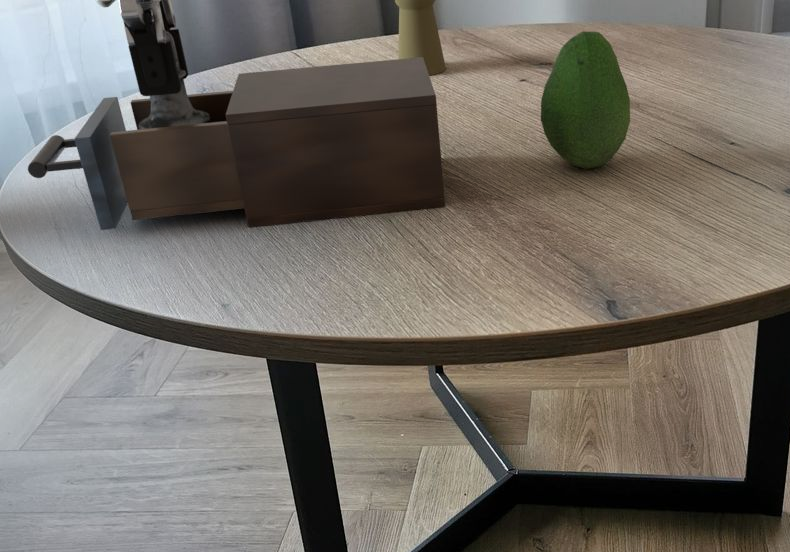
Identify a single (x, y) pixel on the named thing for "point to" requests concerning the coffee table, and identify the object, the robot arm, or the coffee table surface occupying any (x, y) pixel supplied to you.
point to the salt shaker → (173, 105)
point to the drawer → (151, 162)
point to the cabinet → (336, 141)
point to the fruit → (586, 102)
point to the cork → (420, 34)
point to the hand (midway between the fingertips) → (165, 84)
